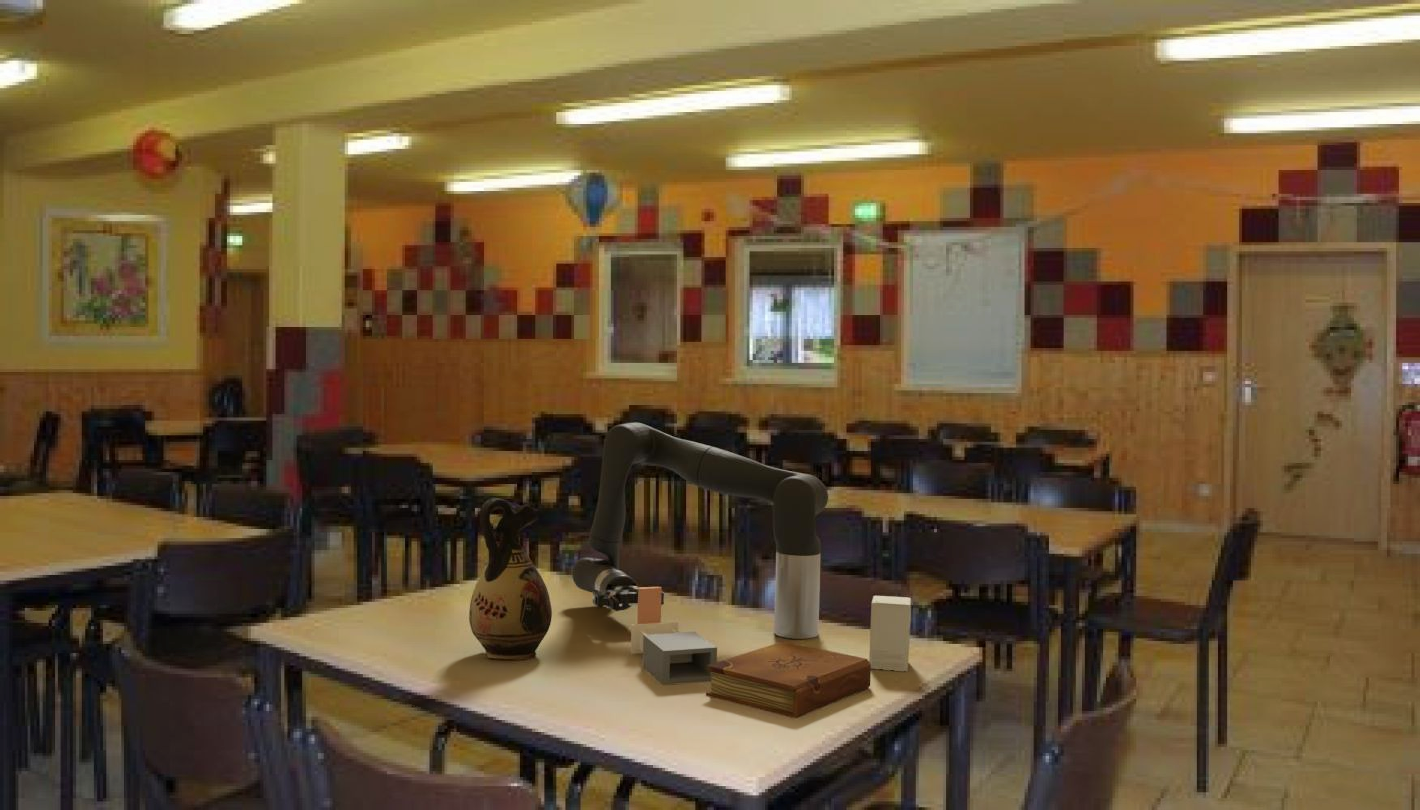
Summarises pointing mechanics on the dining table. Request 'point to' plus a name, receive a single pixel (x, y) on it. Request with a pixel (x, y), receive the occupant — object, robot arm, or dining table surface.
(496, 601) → the ceramic jug
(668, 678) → the sleeve
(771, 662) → the diary
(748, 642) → the dining table surface
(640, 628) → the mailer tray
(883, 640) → the supplement box
